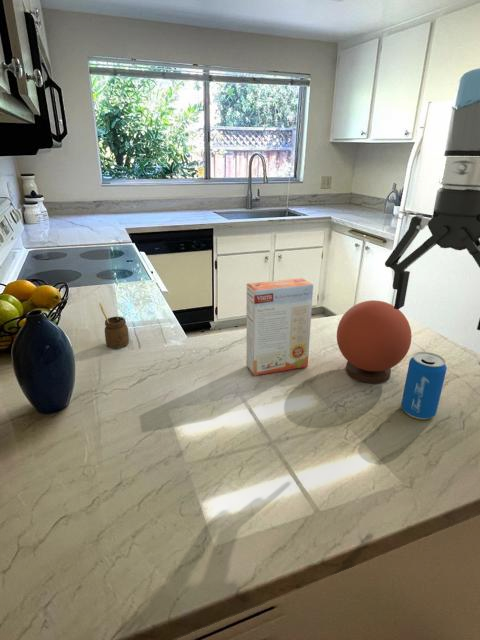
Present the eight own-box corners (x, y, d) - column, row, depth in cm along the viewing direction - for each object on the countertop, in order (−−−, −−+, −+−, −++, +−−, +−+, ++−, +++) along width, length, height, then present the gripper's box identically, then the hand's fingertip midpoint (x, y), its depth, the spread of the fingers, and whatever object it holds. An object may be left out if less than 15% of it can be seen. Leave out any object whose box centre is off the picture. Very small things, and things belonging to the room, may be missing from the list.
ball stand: (402, 362, 99) (414, 295, 92) (405, 396, 85) (420, 320, 78) (336, 352, 104) (343, 288, 97) (329, 383, 90) (337, 310, 83)
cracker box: (297, 356, 101) (303, 276, 93) (308, 368, 96) (315, 284, 88) (244, 364, 97) (245, 281, 89) (253, 376, 92) (255, 290, 84)
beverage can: (396, 414, 79) (406, 360, 75) (405, 399, 84) (415, 347, 80) (431, 426, 76) (444, 370, 71) (438, 409, 81) (450, 356, 76)
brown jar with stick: (129, 347, 105) (124, 304, 101) (104, 350, 104) (98, 306, 99) (129, 338, 111) (125, 297, 106) (105, 340, 109) (100, 299, 105)
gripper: (376, 184, 66) (360, 304, 74) (563, 194, 51) (517, 346, 59) (395, 182, 71) (378, 295, 80) (570, 191, 56) (527, 330, 64)
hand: (437, 317), depth 69 cm, fingers open, 13 cm apart
